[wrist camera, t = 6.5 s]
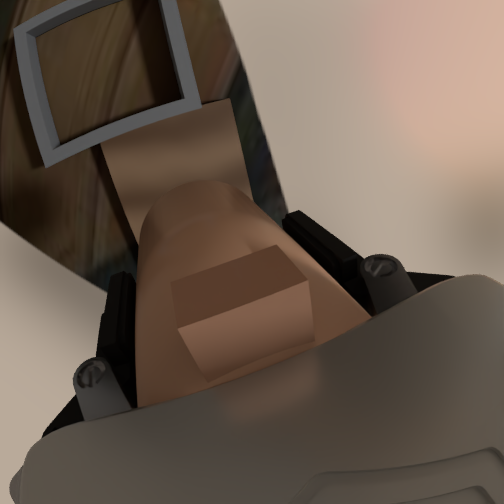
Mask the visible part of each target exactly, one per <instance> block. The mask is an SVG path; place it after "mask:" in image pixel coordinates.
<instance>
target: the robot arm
mask: <svg viewBox="0 0 504 504" xmlns="http://www.w3.org/2000/svg"><path fill="white" fill-rule="evenodd" d="M282 226H283V230H284V231H285V232H286V233H287V234H288V235H289V236H290V237H292V238H293V239H294V240H295V241H296V242H297V243H298V244H299V245H300V246H301V247H302V248H303V249H304V250H305V251H306V252H307V253H308V254H309V255H310V256H311V257H312V258H313V259H314V260H315V261H316V262H317V263H318V264H319V265H320V266H321V267H322V268H323V269H324V270H325V271H326V272H327V273H328V274H329V275H330V276H331V277H332V278H333V279H334V280H335V281H336V282H337V283H338V284H339V285H340V286H341V287H342V288H343V289H344V290H345V291H346V292H347V293H348V294H349V295H350V296H351V297H352V298H353V299H354V300H355V301H356V302H357V303H358V304H359V305H360V306H361V307H362V308H363V309H364V310H365V311H366V312H367V313H368V314H369V315H370V316H371V317H372V318H370V319H368V320H366V321H364V322H362V323H360V324H359V325H357V326H355V327H353V328H351V329H350V330H348V331H346V332H344V333H343V334H341V335H339V336H338V337H336V338H333V339H331V340H329V341H327V342H325V343H323V344H320V345H318V346H316V347H314V348H312V349H309V350H307V351H305V352H303V353H300V354H298V355H296V356H293V357H291V358H289V359H286V360H284V361H281V362H279V363H277V364H274V365H272V366H269V367H267V368H264V369H261V370H259V371H256V372H254V373H251V374H249V375H246V376H243V377H240V378H238V379H235V380H232V381H229V382H227V383H224V384H221V385H218V386H215V387H212V388H209V389H206V390H203V391H200V392H197V393H194V394H190V395H187V396H183V397H179V398H174V399H170V400H166V401H162V402H157V403H154V404H150V405H146V406H142V407H139V408H138V402H137V386H136V361H135V308H136V282H135V280H134V278H133V276H132V274H131V273H128V274H126V272H125V271H123V272H120V273H117V274H115V275H112V276H111V278H110V283H109V288H108V294H107V299H106V305H105V311H104V313H103V314H102V316H101V322H100V328H99V335H98V343H97V351H96V357H93V358H90V359H88V360H86V361H85V362H83V363H82V364H81V365H80V366H79V367H78V368H77V370H76V372H75V373H74V377H73V385H74V389H75V392H76V395H75V396H74V397H73V398H72V399H71V400H70V401H69V403H68V404H67V405H66V406H65V407H64V408H63V410H62V411H61V412H60V413H59V414H58V415H57V416H56V418H55V419H54V420H53V421H52V423H50V425H49V426H48V427H47V428H46V430H45V431H44V433H43V435H42V438H41V439H40V440H39V441H38V442H37V443H35V444H34V445H33V446H32V447H31V449H30V450H29V452H28V453H27V456H26V458H25V461H24V465H23V466H22V467H21V469H20V470H19V471H18V472H17V473H16V474H15V476H14V477H13V478H12V480H11V482H10V487H9V488H10V495H11V497H12V499H13V501H14V503H15V504H504V285H503V284H501V283H499V282H497V281H496V280H494V279H492V278H489V277H487V276H484V275H477V274H475V275H474V274H473V275H464V276H459V277H455V276H449V275H439V274H427V273H416V272H406V271H405V269H404V267H403V266H402V264H401V262H400V261H399V260H398V259H396V258H395V257H393V256H390V255H386V254H385V255H384V254H375V255H371V256H368V257H366V258H365V259H364V258H363V257H361V256H360V255H359V254H357V253H356V252H355V251H354V250H352V249H351V248H350V247H348V246H347V245H346V244H345V243H343V242H342V241H341V240H339V239H338V238H337V237H335V236H334V235H333V234H331V233H330V232H328V231H327V230H326V229H324V228H323V227H322V226H320V225H319V224H318V223H316V222H315V221H314V220H312V219H311V218H310V217H308V216H307V215H306V214H304V213H303V212H301V211H300V210H298V211H295V212H292V213H289V214H286V215H285V219H282Z"/></svg>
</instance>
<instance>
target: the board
mask: <svg viewBox="0 0 504 504" xmlns="http://www.w3.org/2000/svg"><path fill="white" fill-rule="evenodd" d="M100 144H101V147H102V150H103V154H104V157H105V159H106V162H107V165H108V168H109V171H110V174H111V177H112V180H113V182H114V185H115V188H116V190H117V193H118V196H119V198H120V201H121V204H122V206H123V209H124V211H125V214H126V216H127V219H128V221H129V224H130V226H131V229H132V231H133V233H134V236H135V238H136V241H137V243H138V245H139V239H140V232H141V227H142V224H143V221H144V219H145V217H146V215H147V213H148V211H149V210H150V208H151V207H152V206H153V204H154V203H155V202H156V201H157V200H158V199H159V198H160V197H161V196H163V195H164V194H165V193H166V192H168V191H170V190H171V189H173V188H175V187H177V186H179V185H182V184H184V183H188V182H192V181H198V180H213V181H220V182H223V183H227V184H229V185H231V186H234V187H236V188H237V189H239V190H240V191H242V192H243V193H244V194H246V195H247V196H248V197H249V198H250V199H251V200H252V201H253V198H252V193H251V189H250V184H249V180H248V176H247V171H246V167H245V162H244V158H243V153H242V149H241V145H240V140H239V136H238V132H237V127H236V123H235V119H234V114H233V110H232V106H231V101H230V98H229V99H224V100H220V101H215V102H211V103H207V104H204V105H202V108H200V109H196V110H193V111H189V112H186V113H182V114H179V115H175V116H172V117H169V118H166V119H163V120H160V121H157V122H154V123H151V124H148V125H145V126H142V127H139V128H136V129H134V130H131V131H128V132H126V133H123V134H120V135H118V136H115V137H113V138H110V139H108V140H105V141H103V142H101V143H100Z"/></svg>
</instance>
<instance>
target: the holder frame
mask: <svg viewBox="0 0 504 504" xmlns="http://www.w3.org/2000/svg"><path fill="white" fill-rule="evenodd" d="M118 1H121V0H67V1H65V2H63V3H60V4H58V5H56V6H54V7H52V8H50V9H48V10H46V11H44V12H42V13H40V14H39V15H37V16H35V17H33V18H31V19H29V20H28V21H26V22H24V23H23V24H21V25H19V26H18V27H16V28H14V38H15V46H16V53H17V60H18V66H19V71H20V77H21V82H22V87H23V91H24V96H25V100H26V104H27V108H28V112H29V116H30V120H31V123H32V127H33V130H34V134H35V137H36V140H37V143H38V147H39V150H40V153H41V156H42V159H43V162H44V164H45V167H46V168H47V167H49V166H51V165H53V164H55V163H57V162H59V161H61V160H63V159H65V158H67V157H69V156H72V155H74V154H76V153H78V152H80V151H82V150H85V149H87V148H89V147H91V146H94V145H96V144H98V143H101V142H103V141H105V140H108V139H110V138H113V137H115V136H118V135H120V134H123V133H126V132H128V131H131V130H134V129H136V128H139V127H142V126H145V125H148V124H151V123H154V122H157V121H160V120H163V119H166V118H169V117H172V116H175V115H179V114H182V113H186V112H189V111H193V110H196V109H200V108H202V105H201V101H200V97H199V93H198V89H197V85H196V81H195V77H194V73H193V69H192V65H191V61H190V57H189V53H188V49H187V44H186V40H185V36H184V32H183V28H182V24H181V19H180V15H179V11H178V7H177V2H176V0H158V2H159V7H160V11H161V16H162V20H163V24H164V29H165V33H166V37H167V41H168V45H169V50H170V54H171V58H172V62H173V66H174V70H175V74H176V78H177V82H178V86H179V90H180V94H181V98H182V99H181V100H178V101H174V102H171V103H168V104H165V105H161V106H158V107H155V108H152V109H149V110H146V111H143V112H140V113H138V114H135V115H132V116H129V117H127V118H124V119H121V120H119V121H116V122H114V123H111V124H108V125H106V126H104V127H101V128H99V129H96V130H94V131H92V132H90V133H87V134H85V135H83V136H81V137H78V138H76V139H74V140H72V141H70V142H68V143H66V144H64V145H62V146H61V145H60V142H59V139H58V136H57V132H56V129H55V126H54V122H53V119H52V115H51V111H50V108H49V104H48V100H47V96H46V92H45V87H44V83H43V79H42V74H41V69H40V64H39V58H38V53H37V47H36V40H35V37H37V36H39V35H41V34H43V33H45V32H46V31H48V30H50V29H52V28H54V27H56V26H58V25H60V24H63V23H65V22H67V21H69V20H71V19H74V18H76V17H78V16H80V15H83V14H85V13H88V12H90V11H93V10H95V9H98V8H101V7H103V6H106V5H109V4H112V3H115V2H118Z"/></svg>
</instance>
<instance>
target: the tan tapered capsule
mask: <svg viewBox="0 0 504 504" xmlns="http://www.w3.org/2000/svg"><path fill="white" fill-rule="evenodd" d="M370 318H372V317H371V316H370V315H369V314H368V313H367V312H366V311H365V310H364V309H363V308H362V307H361V306H360V305H359V304H358V303H357V302H356V301H355V300H354V299H353V298H352V297H351V296H350V295H349V294H348V293H347V292H346V291H345V290H344V289H343V288H342V287H341V286H340V285H339V284H338V283H337V282H336V281H335V280H334V279H333V278H332V277H331V276H330V275H329V274H328V273H327V272H326V271H325V270H324V269H323V268H322V267H321V266H320V265H319V264H318V263H317V262H316V261H315V260H314V259H313V258H312V257H311V256H310V255H309V254H308V253H307V252H306V251H305V250H304V249H303V248H302V247H301V246H300V245H299V244H298V243H297V242H296V241H295V240H294V239H293V238H292V237H290V236H289V235H288V234H287V233H286V232H285V231H284V230H283V229H282V228H281V227H280V226H279V225H278V224H277V223H276V222H275V221H274V220H273V219H272V218H270V217H269V216H268V215H267V214H266V213H265V212H264V211H263V210H262V209H261V208H260V207H259V206H258V205H257V204H255V203H254V202H253V201H252V200H251V199H250V198H249V197H248V196H247V195H246V194H244V193H243V192H242V191H240V190H239V189H237V188H236V187H234V186H231V185H229V184H227V183H223V182H220V181H213V180H198V181H192V182H188V183H184V184H182V185H179V186H177V187H175V188H173V189H171V190H170V191H168V192H166V193H165V194H164V195H163V196H161V197H160V198H159V199H158V200H157V201H156V202H155V203H154V204H153V206H152V207H151V208H150V210H149V211H148V213H147V215H146V217H145V219H144V221H143V224H142V227H141V232H140V239H139V251H138V265H137V282H136V308H135V361H136V386H137V402H138V408H139V407H142V406H146V405H150V404H154V403H157V402H162V401H166V400H170V399H174V398H179V397H183V396H187V395H190V394H194V393H197V392H200V391H203V390H206V389H209V388H212V387H215V386H218V385H221V384H224V383H227V382H229V381H232V380H235V379H238V378H240V377H243V376H246V375H249V374H251V373H254V372H256V371H259V370H261V369H264V368H267V367H269V366H272V365H274V364H277V363H279V362H281V361H284V360H286V359H289V358H291V357H293V356H296V355H298V354H300V353H303V352H305V351H307V350H309V349H312V348H314V347H316V346H318V345H320V344H323V343H325V342H327V341H329V340H331V339H333V338H336V337H338V336H339V335H341V334H343V333H344V332H346V331H348V330H350V329H351V328H353V327H355V326H357V325H359V324H360V323H362V322H364V321H366V320H368V319H370Z"/></svg>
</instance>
